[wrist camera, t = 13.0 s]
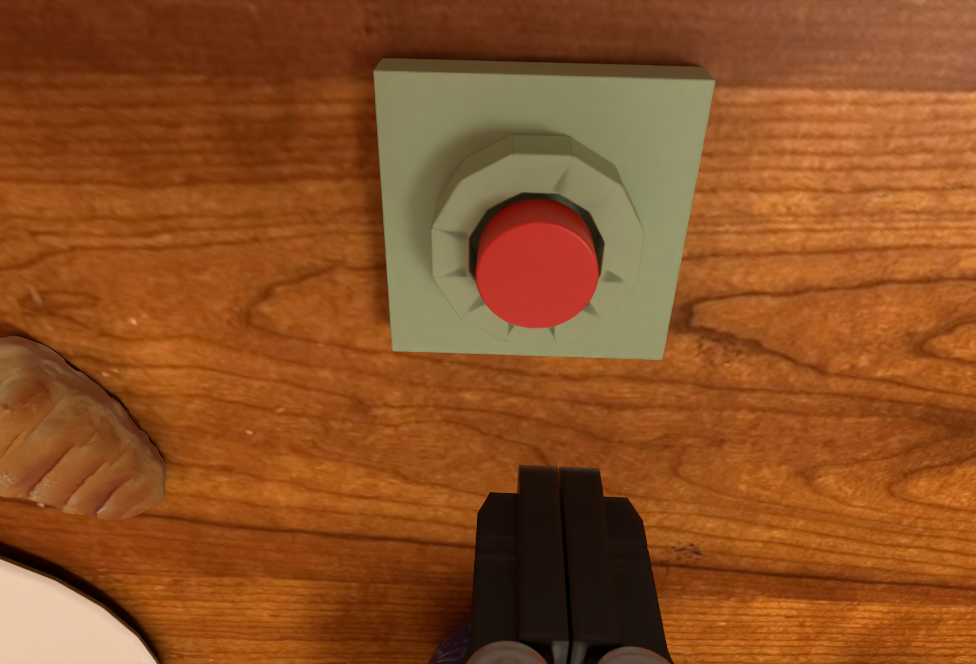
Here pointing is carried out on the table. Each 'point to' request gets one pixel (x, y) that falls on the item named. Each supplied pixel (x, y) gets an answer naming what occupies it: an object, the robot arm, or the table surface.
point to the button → (536, 264)
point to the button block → (536, 193)
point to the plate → (60, 623)
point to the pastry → (70, 439)
